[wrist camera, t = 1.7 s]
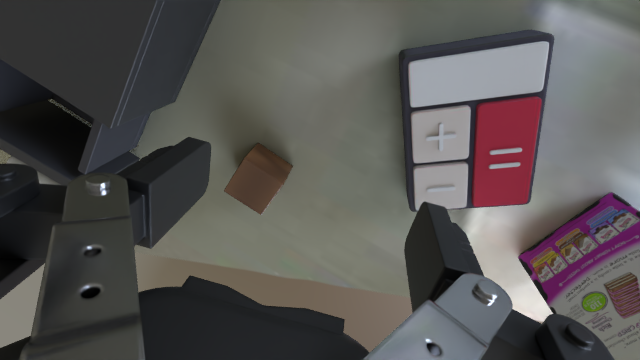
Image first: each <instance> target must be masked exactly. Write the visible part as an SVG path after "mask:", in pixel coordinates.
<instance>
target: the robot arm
mask: <svg viewBox="0 0 640 360" xmlns="http://www.w3.org/2000/svg"><path fill="white" fill-rule="evenodd" d="M210 158H211V145H210V143H209V142H206V141H202V140H199V139H195V138H191V137H188V138H186V139H184V140H183V141H181V142H180V143H178V144H177V145H175V146H168V147H164V148H160V149H157V150H155V151H154V152H152V153H150V154H149V155H148V156H145V157H144V158H142V159H140V161H137V162H135V163H134V164H132V165H130V166H129V167H127V168H125V169H124V170H122V171H120V172H119V173H117V174H113V173H104V172H99V173H89V174H85V175H81V176H78V177H76V178H74V179H73V180H71V181H70V182H69V183H68V185H67V186H65V185H53V184H40V183H39V178H38V173H37V171H36V169H34V168H33V167H31V166H28V165H23V164H13V163H7V164H0V299H1V298H2V297H4V296H5V295H6V294H7V293H8V292H10V291H11V290H12V289H14V288H15V287H16V286H17V285H18V284H20V283H21V282H22V281H23V280H25V279H26V278H27V277H28V276H30V275H31V274H32V273H33V272H35V271H36V270H37V269H38V268H39V267H40V266H42V265H43V264H44V263H45V267H44V272H43V277H42V282H41V287H40V292H39V297H38V302H37V308H36V313H35V318H34V322H33V327H32V332H31V336H29V337H27V338H24V339H22V340H19V341H17V342H14V343H12V344H9V345H7V346H4V347H2V348H0V360H614V358H613V356H612V355H611V353H610V352H609V350H608V349H607V347H606V346H605V345H604V343H603V342H602V341H601V340H600V339H599V338H598V337H597V336H596V335H595V334H594V333H593V332H592V331H591V330H589V329H588V328H587V327H585V326H584V325H582V324H581V323H579V322H577V321H576V320H574V319H572V318H569V317H567V316H564V315H560V314H551V315H549V316H548V317H547V318H546V319H545V321H544V322H543V323H542V324H541V323H539V322H537V321H535V320H533V319H531V318H529V317H527V316H525V315H523V314H521V313H519V312H517V311H515V310H513V309H512V301H511V299H510V297H509V295H508V294H507V293H506V292H505V291H504V290H503V289H502V288H501V287H500V286H499V285H498V284H496V283H495V282H493V281H492V280H490V279H488V278H486V277H484V275H483V272H482V270H481V268H480V265H479V263H478V261H477V258H476V256H475V254H473V249H472V247H471V245H470V242H469V240H468V238H467V235H466V233H465V232H464V231H463V230H462V229H461V228H460V227H459V226H458V225H457V224H456V223H452V222H451V220H450V217H449V215H448V212H447V210H446V208H445V207H444V206H440V205H436V204H433V203H429V202H425V201H424V202H423V203H422V204H421V206H420V208H419V210H418V212H417V215H416V217H415V219H414V222H413V224H412V226H411V228H410V231H409V233H408V235H407V238H406V242H405V249H404V252H405V260H406V267H407V275H408V282H409V289H410V297H411V304H412V312H413V313H412V314H411V315H410V316H409V317H408V318H407V319H406V320H405V321H404V322H403V323H402V324H400V325H399V327H397V328H396V329H395V330H394V331H393V332H392V333H391V334H390V335H389V336H387V337H386V338H385V339H384V340H383V341H382V342H381V343H380V344H379V345H378V346H377V347H376V348H374V349H373V350H372V351H371V352H370V353H369V352H368V351H367V350H366V349H365V348H364V347H363V346H362V345H361V344H359V343H358V342H357V341H356V340H354V339H353V338H351V337H350V336H348V335H346V334H345V333H343V329H344V319H342V318H338V317H334V316H331V315H327V314H323V313H320V312H317V311H313V310H310V309H306V308H291V307H276V306H264V305H261V304H259V303H257V302H256V301H254V300H252V299H250V298H248V297H246V296H244V295H243V294H241V293H239V292H237V291H235V290H234V289H232V288H230V287H228V286H225V285H222V284H218V283H214V282H211V281H208V280H204V279H201V278H197V277H194V276H189V277H188V279H187V280H186V281H185V283H184V284H183V286H182V287H162V288H155V289H150V290H145V291H142V292H139V293H138V285H137V274H136V263H135V251H134V246H135V245H140V246H143V247H147V248H150V249H151V248H152V247H153V246H154V245H155V244H156V243H157V242H158V241H159V240H160V239H161V238H162V237H163V236H164V235H165V234H166V233H167V232H168V231H169V230H170V229H171V228H172V227H173V226H174V225H175V224H176V223H177V222H178V220H179V219H180V218H181V217H182V216H183V215H184V214H185V213H186V212H187V211H188V210H189V209H190V208H191V207H192V206H193V205H194V204H195V203H196V202H197V201H198V200H199V199H200V198H201V197H202V196H203V194H204V193H205V191H206V189H207V186H208V182H209V171H210Z"/></svg>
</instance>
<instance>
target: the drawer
mask: <svg viewBox="0 0 640 360" xmlns="http://www.w3.org/2000/svg"><path fill="white" fill-rule="evenodd" d="M49 99H53V100H55V101H57V102H58V103H60V104H61V105H63V106H64V107H66V108H68V109H69V110H71V111H72V112H74V113H76V114H77V115H79V116H80V117H82V118H83V119H85V120H87V121H88V122H90V123H91V124H92V127H89V126H88V125H86V124H85V123H83V122H81V121H80V120H78V119H77V118H75V117H73V116H72V115H70V114H69V113H67V112H65V111H64V110H62V109H61V108H59V107H58V106H56V105H54V104H53V103H51V102H50V101H48V100H49ZM150 113H151V112H149V113H147V114H145V115H142V116H140V117H138V118H135V119H133V120H130V121H128V122H126V123H123V124H121V125H119V126H116V127H114V128H111V129H110V128H108V127H107V126H105V125H104V124H102V123H101V122H99V121H97V120H96V119H94V118H93V117H91V116H89V115H88V114H86V113H85V112H83V111H82V110H80V109H78V108H77V107H75V106H74V105H72V104H71V103H69V102H67V101H66V100H64V99H63V98H61V97H60V96H58V95H56V94H55V93H53V92H52V91H50V90H49V89H47V88H45V87H44V86H42V85H41V84H39V83H38V82H36V81H34V80H33V79H31V78H30V77H28V76H27V75H25V74H23V73H22V72H20V71H19V70H17V69H16V68H14V67H12V66H11V65H9V64H8V63H6V62H4V61H3V60H1V59H0V149H1V150H3V151H4V152H6V153H8V154H9V155H11V157H10V158H9V159H8V161H7V163H13V164H23V165H28V166H31V167H33V168H34V169H36V171H37V173H38V178H39V183H40V184H53V185H65V186H67V185H68V183H69V182H70V181H71V180H73V179H74V178H76V177H78V176H81V175H85V174H89V173H99V172H104V173H113V174H117V173H119V172H120V171H122V170H124V169H125V168H127V167H129V166H130V165H132V164H134V163H135V162H137V161H139V159H140V158H139V157H137V156H135V155H134V154H132V153H131V152H129V150H131V149H133V148H135V147H136V146H137V144H138V141H139V139H140V137H141V134H142V132H143V130H144V127H145V125H146V122H147V120H148V118H149V115H150Z"/></svg>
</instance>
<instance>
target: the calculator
mask: <svg viewBox="0 0 640 360" xmlns="http://www.w3.org/2000/svg"><path fill="white" fill-rule="evenodd" d="M553 44H554V36H553V35H552V34H549V33H545V32H540V31H535V30H524V31H518V32H511V33H505V34H499V35H493V36H486V37H480V38H474V39H468V40H461V41H455V42H449V43H443V44H436V45H430V46H424V47H418V48H411V49H405V50H402V51H401V52H400V53H399V70H400V87H401V100H402V116H403V133H404V151H405V169H406V186H407V197H408V203H409V208H410V210H411V211H413V212H417V211H418V210H419V208H420V206H421V204H422V203H423V202H424V201H425V202H429V203H433V204H436V205H440V206H444V207H445V208H446V210H448V209H463V208H479V207H494V206H509V205H523V204H528V203H529V202H530V199H531V193H532V186H533V179H534V172H535V166H536V159H537V152H538V145H539V138H540V132H541V125H542V118H543V111H544V105H545V98H546V91H547V84H548V78H549V71H550V64H551V57H552V51H553Z"/></svg>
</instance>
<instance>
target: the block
mask: <svg viewBox="0 0 640 360" xmlns="http://www.w3.org/2000/svg"><path fill="white" fill-rule="evenodd" d="M292 167H293V166H292V165H291V164H289V163H288V162H286V161H285V160H283V159H282V158H280V157H279V156H277V155H276V154H274V153H273V152H271V151H270V150H268V149H267V148H265V147H264V146H263V145H261V144H260V143H257V145H256V146H255V147H254V148H253V149H252V150H251V151H250V152H249V153H248V154H247V156H246V157H245V158H244V159H243V161H242V162H241V164H240V165H239V167H238V169H237V170H236V172H235V173H234V175H233V177H232V178H231V180H230V181H229V183H228V185H227V186H226V188H225V190H224V191H225V192H226V193H228V194H229V195H231V196H232V197H234V198H235V199H237V200H239V201H240V202H242V203H243V204H245V205H246V206H248V207H250V208H251V209H253V210H254V211H256V212H257V213H259V214H260V215H262V213H263V212H264V211H265V209H266V208H267V206H268V205H269V204H270V202H271V201H272V200H273V198H274V197H275V195H276V194H277V193H278V191H279V190H280V189H281V187H282V186H283V184H284V182H285V180H286V179H287V177H288V175H289V173H290V171H291V169H292Z"/></svg>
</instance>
